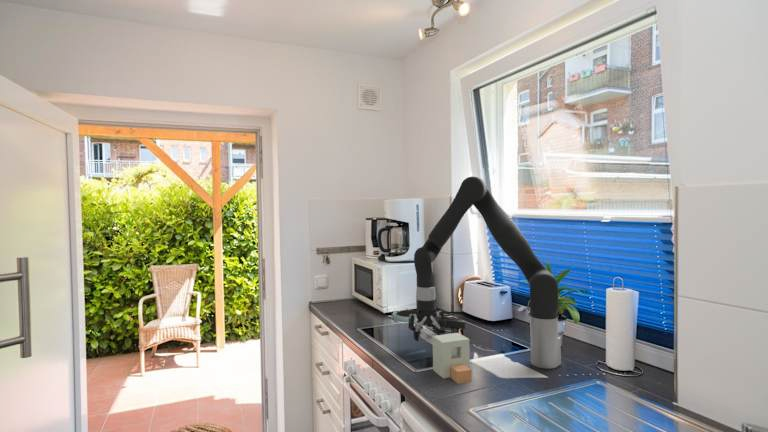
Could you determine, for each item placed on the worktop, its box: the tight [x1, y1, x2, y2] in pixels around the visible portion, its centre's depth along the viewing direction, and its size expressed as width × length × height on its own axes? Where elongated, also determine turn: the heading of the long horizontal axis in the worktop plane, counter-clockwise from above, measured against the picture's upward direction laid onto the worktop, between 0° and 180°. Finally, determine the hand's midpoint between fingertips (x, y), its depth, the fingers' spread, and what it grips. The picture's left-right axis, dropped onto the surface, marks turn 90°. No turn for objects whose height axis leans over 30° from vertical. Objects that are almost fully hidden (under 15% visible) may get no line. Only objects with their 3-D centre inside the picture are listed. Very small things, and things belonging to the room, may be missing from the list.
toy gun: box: [430, 315, 466, 334], centre depth 202 cm, size 5×21×15 cm
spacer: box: [450, 365, 473, 385], centre depth 142 cm, size 5×5×4 cm
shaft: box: [418, 324, 458, 357], centre depth 160 cm, size 4×28×4 cm, turn 19°
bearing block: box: [432, 332, 471, 379], centre depth 148 cm, size 10×8×12 cm
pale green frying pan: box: [391, 309, 418, 324], centre depth 225 cm, size 18×4×25 cm
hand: (426, 339), depth 167 cm, fingers open, 8 cm apart
